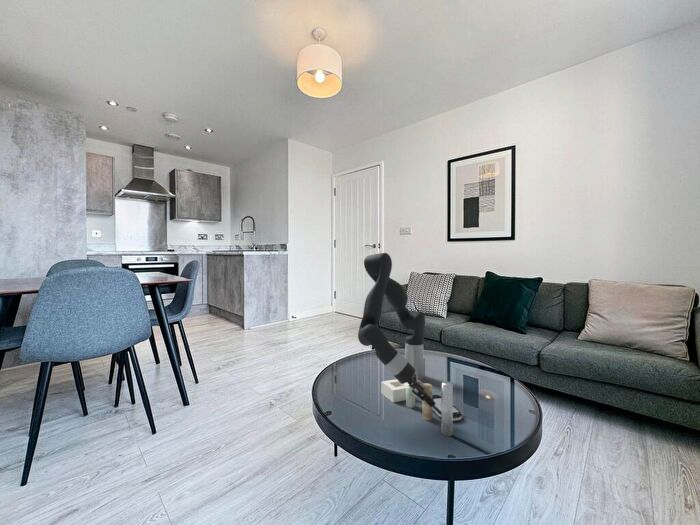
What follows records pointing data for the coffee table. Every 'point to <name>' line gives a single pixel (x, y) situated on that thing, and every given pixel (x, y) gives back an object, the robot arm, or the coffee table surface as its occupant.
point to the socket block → (394, 390)
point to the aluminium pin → (447, 408)
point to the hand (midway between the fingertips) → (432, 402)
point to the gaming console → (438, 409)
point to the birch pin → (425, 406)
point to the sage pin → (410, 397)
